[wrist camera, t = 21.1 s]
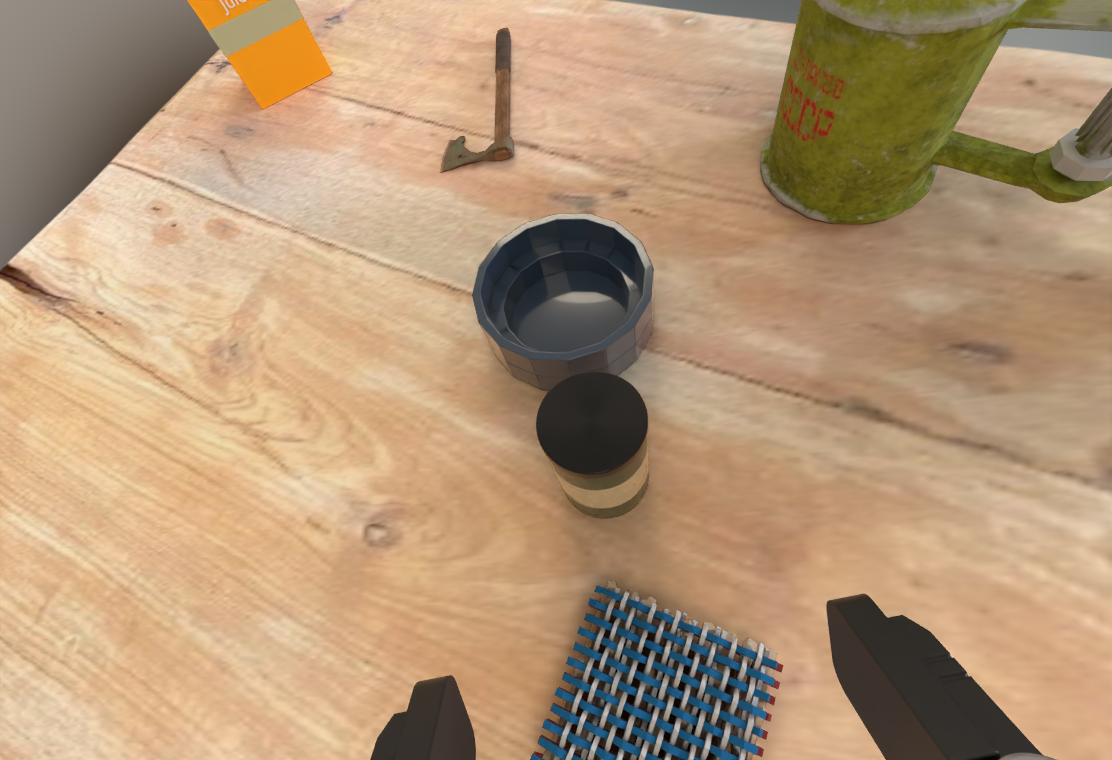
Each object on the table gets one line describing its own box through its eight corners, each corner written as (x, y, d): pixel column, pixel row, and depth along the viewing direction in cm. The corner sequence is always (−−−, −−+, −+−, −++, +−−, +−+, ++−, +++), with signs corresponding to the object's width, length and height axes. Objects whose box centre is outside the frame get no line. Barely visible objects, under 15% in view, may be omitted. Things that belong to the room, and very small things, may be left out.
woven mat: (732, 883, 26) (738, 898, 24) (529, 769, 29) (521, 775, 28) (785, 654, 30) (793, 653, 28) (601, 576, 33) (598, 571, 32)
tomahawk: (455, 53, 62) (450, 42, 61) (516, 35, 60) (512, 23, 59) (443, 177, 53) (437, 167, 52) (515, 159, 51) (510, 148, 50)
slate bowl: (543, 240, 46) (531, 195, 42) (680, 288, 42) (683, 243, 38) (461, 356, 42) (439, 319, 38) (604, 422, 38) (598, 389, 34)
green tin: (587, 421, 38) (570, 355, 30) (664, 457, 36) (667, 396, 28) (545, 493, 36) (515, 443, 28) (624, 535, 34) (615, 494, 26)
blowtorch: (1056, 300, 37) (1635, -239, 15) (626, 158, 49) (604, -254, 27) (1104, 170, 41) (1615, -402, 19) (696, 69, 53) (726, -352, 31)
